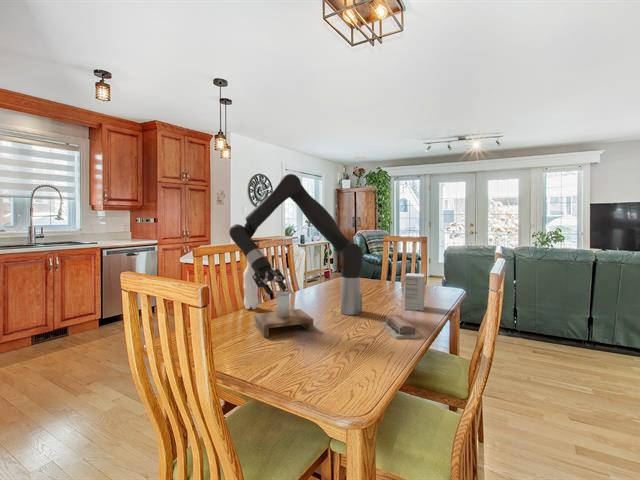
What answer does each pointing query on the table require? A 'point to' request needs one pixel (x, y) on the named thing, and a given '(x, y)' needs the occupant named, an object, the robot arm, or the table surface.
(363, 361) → the table surface
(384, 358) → the table surface
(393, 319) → the packaged product
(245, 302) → the water bottle
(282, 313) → the tumbler
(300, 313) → the shelf riser
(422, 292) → the supplement box
